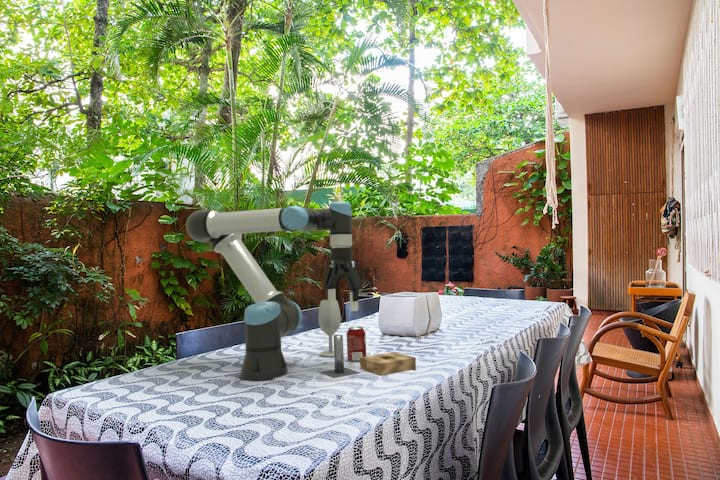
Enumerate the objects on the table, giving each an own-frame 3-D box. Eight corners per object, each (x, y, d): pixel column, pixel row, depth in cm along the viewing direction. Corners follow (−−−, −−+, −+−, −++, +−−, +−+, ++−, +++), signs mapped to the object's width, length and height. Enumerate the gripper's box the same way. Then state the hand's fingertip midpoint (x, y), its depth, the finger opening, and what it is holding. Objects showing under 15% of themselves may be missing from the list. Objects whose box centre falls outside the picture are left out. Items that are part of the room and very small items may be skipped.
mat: (333, 379, 157) (333, 378, 157) (318, 373, 165) (318, 372, 165) (360, 374, 162) (360, 372, 162) (345, 368, 171) (345, 367, 171)
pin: (337, 374, 162) (336, 336, 162) (333, 372, 164) (331, 335, 164) (345, 372, 163) (344, 335, 163) (341, 370, 166) (339, 334, 166)
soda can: (364, 363, 177) (363, 329, 178) (345, 363, 179) (344, 329, 179) (368, 359, 184) (366, 326, 184) (350, 359, 185) (348, 326, 185)
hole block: (380, 376, 158) (380, 364, 158) (360, 369, 168) (360, 357, 168) (415, 369, 165) (415, 357, 165) (394, 363, 175) (394, 351, 175)
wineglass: (332, 358, 188) (330, 302, 188) (315, 356, 193) (312, 301, 193) (346, 353, 195) (344, 299, 195) (329, 351, 200) (327, 299, 200)
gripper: (372, 246, 164) (373, 311, 164) (331, 247, 185) (332, 305, 184) (353, 246, 160) (354, 313, 160) (313, 247, 180) (314, 307, 180)
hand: (342, 309), depth 172 cm, fingers open, 13 cm apart
